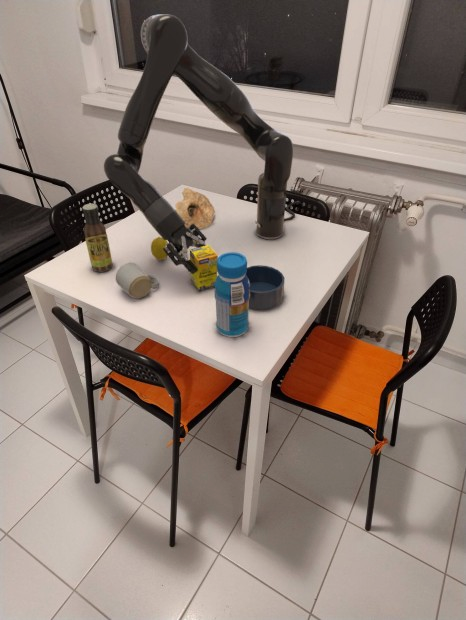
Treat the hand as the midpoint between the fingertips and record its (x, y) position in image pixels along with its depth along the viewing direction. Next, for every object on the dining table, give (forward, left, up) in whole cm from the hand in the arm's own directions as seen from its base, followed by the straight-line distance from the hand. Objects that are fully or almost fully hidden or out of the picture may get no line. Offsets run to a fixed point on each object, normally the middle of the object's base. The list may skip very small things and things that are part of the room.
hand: (203, 264), depth 111 cm
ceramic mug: (+10, -15, -7) cm, 19 cm away
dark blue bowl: (-1, +17, -7) cm, 18 cm away
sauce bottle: (+5, -32, -7) cm, 33 cm away
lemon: (-6, -18, -7) cm, 21 cm away
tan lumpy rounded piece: (-34, -21, -7) cm, 41 cm away
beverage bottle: (+14, +15, -7) cm, 21 cm away
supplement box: (0, 0, -7) cm, 7 cm away
